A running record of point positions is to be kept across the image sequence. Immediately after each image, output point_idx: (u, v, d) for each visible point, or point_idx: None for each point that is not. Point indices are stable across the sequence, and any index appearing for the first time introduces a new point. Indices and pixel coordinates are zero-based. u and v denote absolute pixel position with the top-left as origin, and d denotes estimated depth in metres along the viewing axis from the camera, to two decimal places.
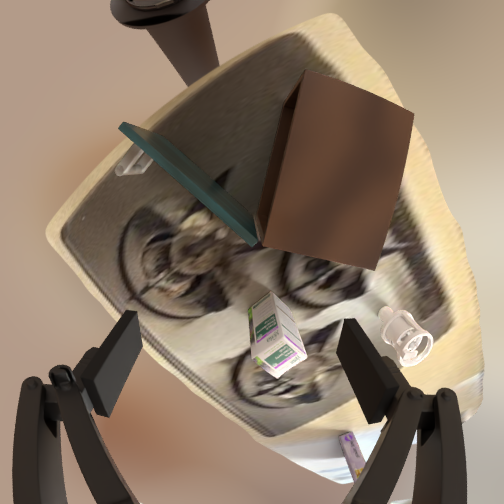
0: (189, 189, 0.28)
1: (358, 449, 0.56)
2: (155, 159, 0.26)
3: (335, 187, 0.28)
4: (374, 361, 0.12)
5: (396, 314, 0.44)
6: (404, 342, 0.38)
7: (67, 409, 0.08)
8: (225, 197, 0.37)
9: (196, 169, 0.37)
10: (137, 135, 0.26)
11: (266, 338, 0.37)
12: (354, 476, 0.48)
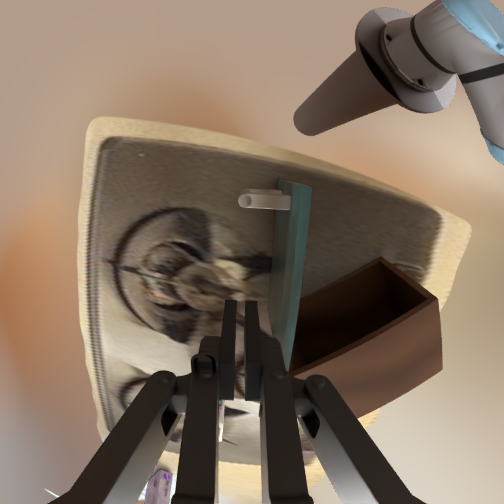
0: (291, 304, 0.26)
1: (169, 491, 0.53)
2: (296, 254, 0.24)
3: (363, 380, 0.29)
4: (250, 338, 0.14)
5: None
6: None
7: (196, 396, 0.10)
8: None
9: None
10: (308, 216, 0.23)
11: None
12: None
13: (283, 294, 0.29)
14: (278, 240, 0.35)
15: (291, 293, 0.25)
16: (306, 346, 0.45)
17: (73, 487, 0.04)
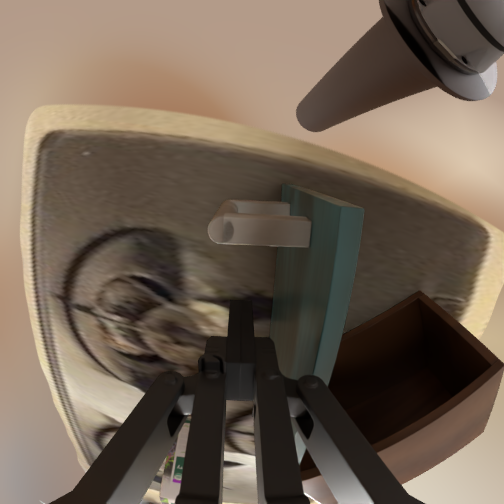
0: None
1: None
2: (322, 346, 0.11)
3: (393, 469, 0.16)
4: (244, 338, 0.14)
5: None
6: None
7: (203, 396, 0.10)
8: None
9: None
10: (352, 273, 0.10)
11: None
12: None
13: None
14: (283, 283, 0.22)
15: None
16: None
17: (77, 487, 0.05)
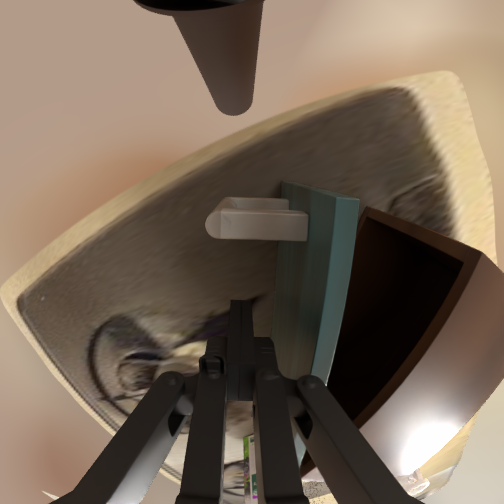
0: None
1: None
2: (321, 340, 0.11)
3: (419, 427, 0.14)
4: (243, 338, 0.14)
5: None
6: None
7: (204, 396, 0.10)
8: None
9: None
10: (349, 264, 0.10)
11: None
12: None
13: None
14: (283, 279, 0.22)
15: None
16: (349, 370, 0.30)
17: (77, 487, 0.05)
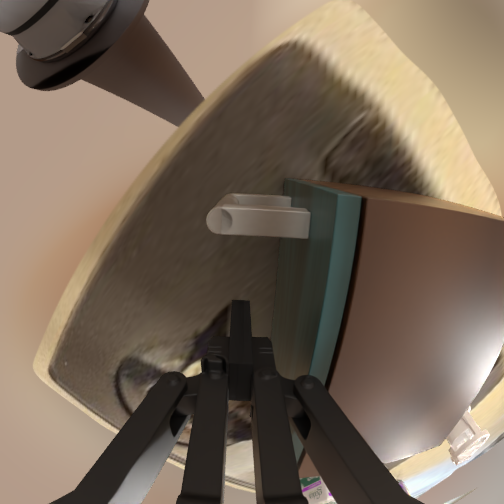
0: None
1: None
2: (320, 338, 0.11)
3: (407, 408, 0.13)
4: (241, 338, 0.14)
5: None
6: (460, 449, 0.22)
7: (206, 396, 0.10)
8: None
9: None
10: (350, 263, 0.10)
11: (308, 492, 0.23)
12: None
13: (290, 377, 0.16)
14: (284, 277, 0.22)
15: None
16: None
17: (78, 487, 0.05)
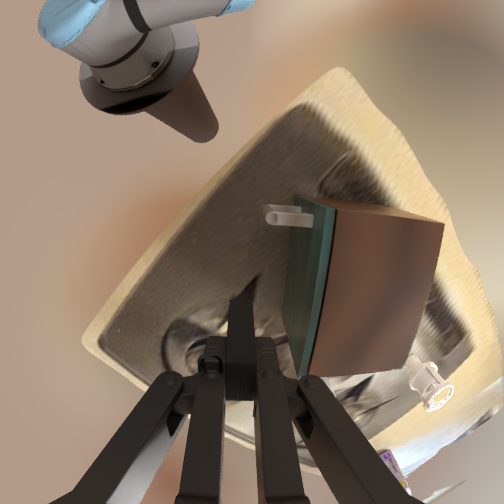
0: (312, 313, 0.28)
1: (396, 465, 0.55)
2: (319, 269, 0.27)
3: (369, 321, 0.28)
4: (244, 338, 0.14)
5: (421, 368, 0.43)
6: (429, 396, 0.37)
7: (203, 396, 0.10)
8: None
9: None
10: (331, 235, 0.26)
11: None
12: None
13: (303, 304, 0.32)
14: (296, 253, 0.37)
15: (313, 304, 0.28)
16: None
17: (76, 487, 0.05)
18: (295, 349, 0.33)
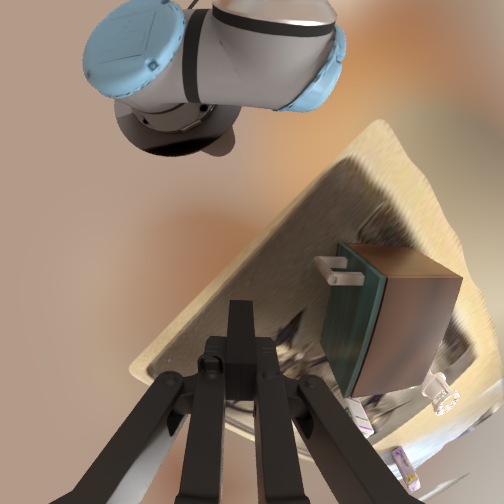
0: (360, 353, 0.33)
1: (407, 460, 0.60)
2: (370, 322, 0.31)
3: (401, 354, 0.33)
4: (244, 338, 0.14)
5: (432, 378, 0.49)
6: (438, 402, 0.43)
7: (203, 396, 0.10)
8: None
9: None
10: (381, 297, 0.30)
11: None
12: (406, 481, 0.53)
13: (350, 343, 0.36)
14: (340, 296, 0.42)
15: (362, 346, 0.33)
16: None
17: (76, 487, 0.05)
18: (340, 376, 0.38)
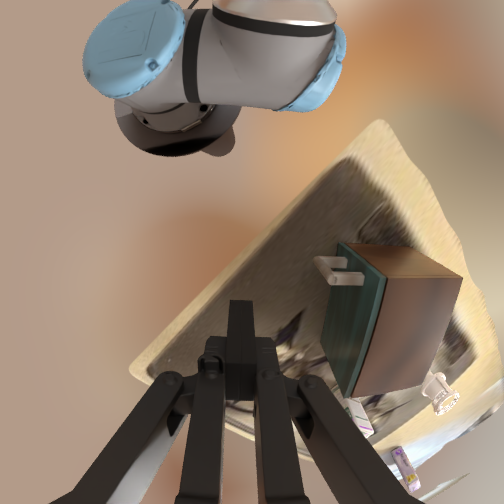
0: (360, 353, 0.33)
1: (407, 460, 0.60)
2: (370, 322, 0.31)
3: (401, 354, 0.33)
4: (244, 338, 0.14)
5: (432, 378, 0.49)
6: (438, 402, 0.43)
7: (203, 396, 0.10)
8: None
9: None
10: (381, 297, 0.30)
11: None
12: (406, 481, 0.53)
13: (350, 343, 0.36)
14: (340, 296, 0.42)
15: (362, 346, 0.33)
16: None
17: (76, 487, 0.05)
18: (340, 376, 0.38)
